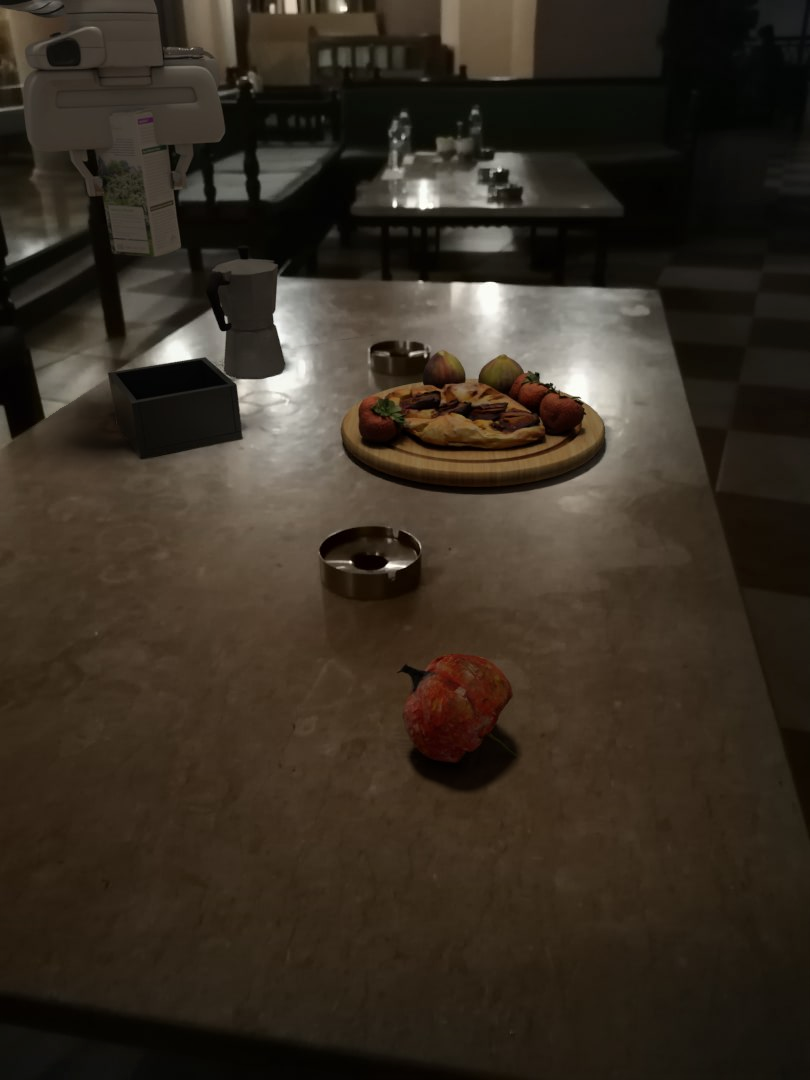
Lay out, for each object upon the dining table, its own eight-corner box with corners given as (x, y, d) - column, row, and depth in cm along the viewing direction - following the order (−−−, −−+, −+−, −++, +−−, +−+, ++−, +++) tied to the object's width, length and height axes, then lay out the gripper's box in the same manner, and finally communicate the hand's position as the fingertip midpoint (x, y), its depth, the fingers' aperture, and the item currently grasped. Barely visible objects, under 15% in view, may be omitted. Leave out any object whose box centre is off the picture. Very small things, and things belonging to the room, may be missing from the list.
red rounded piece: (505, 739, 66) (403, 649, 66) (567, 699, 61) (457, 601, 61) (465, 815, 61) (354, 718, 61) (529, 778, 56) (409, 671, 56)
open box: (140, 459, 107) (131, 403, 103) (117, 425, 117) (107, 372, 113) (242, 438, 112) (236, 384, 109) (211, 407, 122) (205, 356, 118)
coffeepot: (254, 353, 143) (243, 234, 134) (305, 361, 139) (297, 239, 130) (192, 383, 131) (175, 254, 122) (246, 392, 127) (233, 260, 118)
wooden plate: (369, 509, 95) (366, 435, 91) (323, 405, 122) (319, 345, 118) (651, 475, 101) (660, 404, 97) (547, 383, 128) (550, 325, 124)
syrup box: (183, 248, 103) (165, 107, 96) (154, 258, 98) (133, 110, 91) (140, 245, 105) (120, 106, 98) (109, 255, 100) (86, 110, 93)
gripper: (207, 46, 99) (221, 181, 105) (7, 48, 90) (36, 195, 97) (225, 46, 94) (238, 188, 100) (16, 48, 85) (46, 203, 92)
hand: (137, 192), depth 98 cm, fingers closed on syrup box, 7 cm apart
